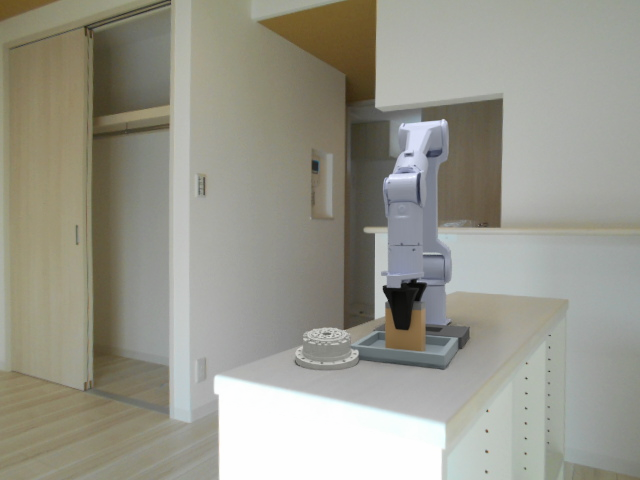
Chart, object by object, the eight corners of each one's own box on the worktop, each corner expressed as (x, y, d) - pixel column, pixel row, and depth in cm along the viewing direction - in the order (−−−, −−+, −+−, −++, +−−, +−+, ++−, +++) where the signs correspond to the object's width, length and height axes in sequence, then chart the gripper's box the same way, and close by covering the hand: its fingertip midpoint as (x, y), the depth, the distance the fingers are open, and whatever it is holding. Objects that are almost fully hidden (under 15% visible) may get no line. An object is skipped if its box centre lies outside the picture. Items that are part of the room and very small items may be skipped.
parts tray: (375, 341, 85) (375, 330, 85) (458, 349, 79) (458, 337, 79) (349, 358, 73) (349, 345, 73) (444, 369, 67) (444, 355, 67)
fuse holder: (389, 330, 95) (389, 320, 95) (469, 337, 88) (469, 327, 88) (373, 340, 86) (373, 329, 86) (461, 348, 79) (461, 337, 79)
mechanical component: (288, 371, 68) (355, 376, 66) (287, 343, 67) (355, 346, 66) (303, 348, 78) (361, 351, 76) (302, 322, 77) (361, 325, 75)
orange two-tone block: (390, 346, 79) (390, 299, 79) (425, 349, 76) (425, 301, 76) (385, 350, 76) (385, 302, 76) (421, 353, 73) (421, 304, 73)
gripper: (394, 244, 84) (394, 318, 84) (367, 246, 71) (368, 333, 71) (432, 244, 81) (433, 321, 81) (412, 246, 68) (413, 337, 68)
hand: (405, 327), depth 76 cm, fingers open, 4 cm apart
